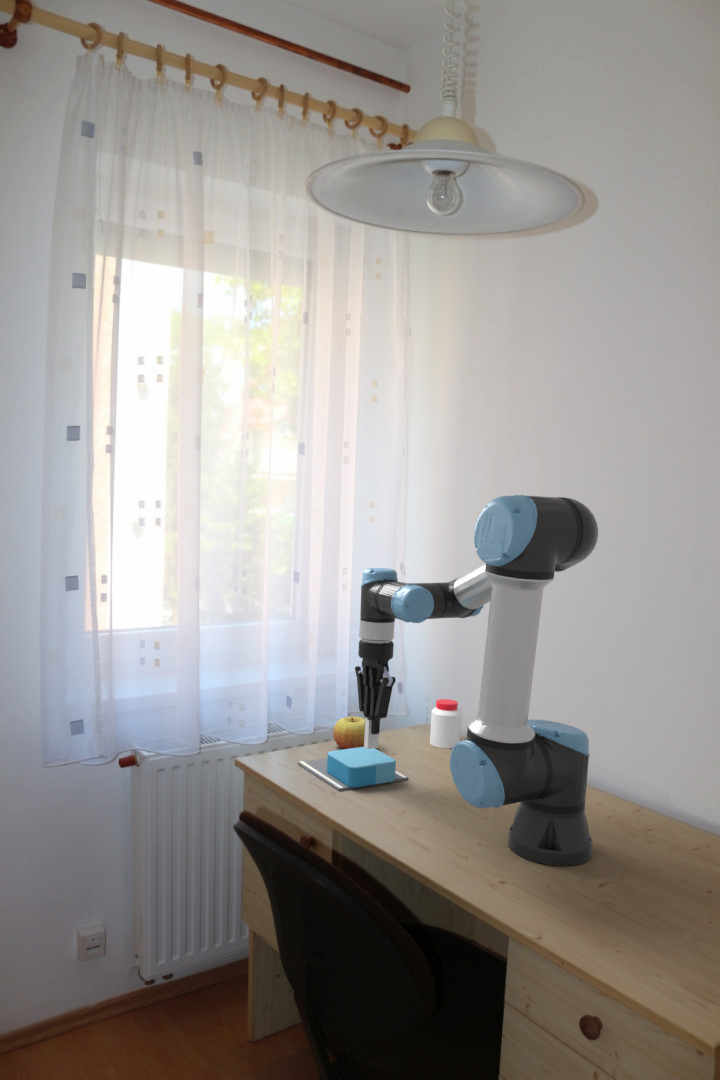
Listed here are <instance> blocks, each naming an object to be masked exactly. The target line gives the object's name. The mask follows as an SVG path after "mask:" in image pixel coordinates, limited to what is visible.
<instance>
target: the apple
mask: <svg viewBox="0 0 720 1080" xmlns="http://www.w3.org/2000/svg"><path fill="white" fill-rule="evenodd" d="M332 736H333V737H332V738H333V739H334V741H335V743H336V745H337V746H338V747H339V748H341V750H343V749H351V748H358V747H364V738H365V718H363V717H360V716H346V717H345V716H344V717H342V718H340V719H339V720H337V721H336V723H335V724H334V726H333V735H332Z"/></svg>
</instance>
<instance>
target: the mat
mask: <svg viewBox="0 0 720 1080" xmlns="http://www.w3.org/2000/svg"><path fill="white" fill-rule="evenodd" d="M297 765H298V766H300V767H302V768H303V769H304V770H306V771H307V772H309V773H310V774H312V775H314V776H315V777H316V778H317V779H319V780H321V782H324V783H325V784H327V785H328V786H330V787H331V788H333V789H335V791H337V792H343V791H347V790H354V789H360V788H367V787H372V786H376V785H377V786H378V785H384V784H389V783H390V784H391V783H396V782H402V781H407V780H409V776H407V775H405V774H403V773H402V772H400V771H398V770H396V769H395V780H394V781H392V782H387V783H380V784H374V785H368V786H362V787H349V786H347V785H345V784H344V783H342V782H341V781H339V780H338V779H336V778H335V777H333V776H331V775H330V774H328V773H327V757H325V758H316V759H312V760H300V761H297Z"/></svg>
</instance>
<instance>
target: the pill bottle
mask: <svg viewBox="0 0 720 1080" xmlns="http://www.w3.org/2000/svg"><path fill="white" fill-rule="evenodd" d="M458 704H459V702H458V701H456V700H454V699H449V698H445V699H444V698H443V699H442V698H441V699H437V700H436V701H435V706H434V707H433V708H432V709H431V712H430V729H429V744H430V745H431V746H433V747H435V748H438V749H446V750H448V749H451V750H452V749H453V747H454V746H456V744H457V743H458V742H460V741H461V731H462V729H461V728H462V711H461V710H460V709H459V707H458Z"/></svg>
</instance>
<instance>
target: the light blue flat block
mask: <svg viewBox="0 0 720 1080" xmlns="http://www.w3.org/2000/svg"><path fill="white" fill-rule="evenodd" d="M326 756H327V757H326V758H327V773H328V774H330V775H331V776H333V777H335V778H336V779H338V780H339V781H341V782H342V783H344V784H345V785H347V786H349V787H360V788H363V787H362V786H366V787H369V786H368V785H372V786H375V785H374V784H379V785H381V784H380V783H385V784H388V783H387V782H391V783H393V782H392V781H394V780H395V770H396V767H397V766H396V765H397V764H396V763H397V760H396V759H395V758H393V756H392V757H391V756H389V755H388V754H385V753H384V752H383V751H380V750H378V749H377V748H371V749H367V748H365V747H358V748H351V749H338V750H337V749H336V750H330V751H328V752H327V755H326Z"/></svg>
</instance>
